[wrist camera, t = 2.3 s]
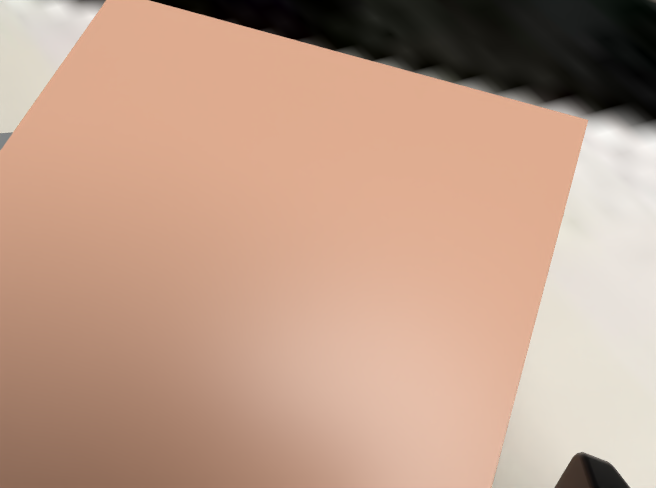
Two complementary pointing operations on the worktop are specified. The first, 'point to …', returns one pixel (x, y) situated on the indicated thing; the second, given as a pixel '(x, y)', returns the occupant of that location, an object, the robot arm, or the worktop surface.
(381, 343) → the salmon pink pillar
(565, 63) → the worktop surface
